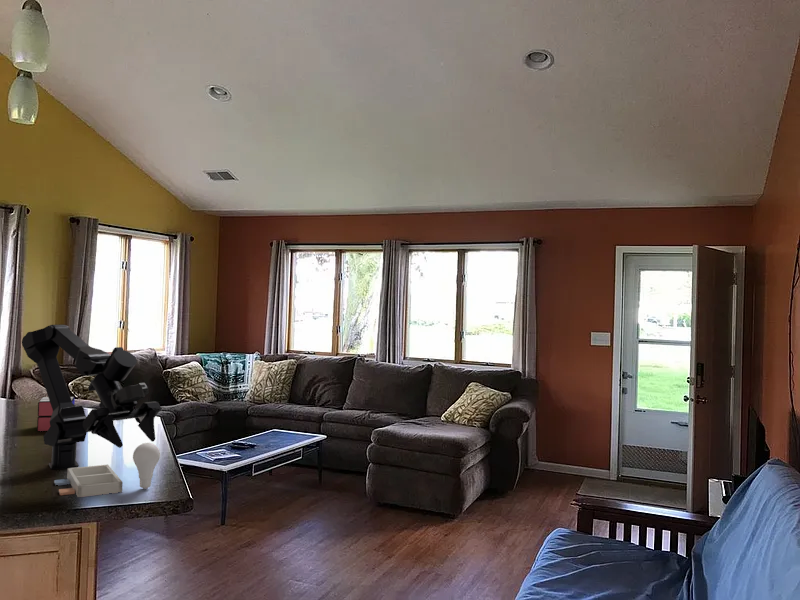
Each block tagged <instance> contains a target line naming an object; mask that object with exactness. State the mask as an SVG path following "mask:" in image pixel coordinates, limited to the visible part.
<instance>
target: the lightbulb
mask: <svg viewBox="0 0 800 600" xmlns="http://www.w3.org/2000/svg"><path fill="white" fill-rule="evenodd" d="M160 458H161V450H160V449H159V447H158V446H157V445H156V444H154V443H152V442H144V443H141V444H139V445H138V446H136V448H135V449H134V451H133V454H132V460H133V462H134V465H135V466H136V467H135V468H136V469H137V473H138V479H139V487H140V488H142V489H143V490H147V489H148V488H150V487H151V486H152V478H153V476H154V471H155V469H156V466H157V464H158V463H159V461H160Z"/></svg>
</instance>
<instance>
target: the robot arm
mask: <svg viewBox="0 0 800 600" xmlns="http://www.w3.org/2000/svg"><path fill="white" fill-rule="evenodd" d="M21 345H22V348H23V350H24V351H25V354H26V356H27V358H29V359H30V360H31V361H33V362H34V363H35V364H36V365H37V369H38V370H39V374H40V376H41V380H42V382H43V386H44V388H45V391H46V394H47V397H48V398H49V401H50V403H51V406H52V410H53V413H52V416H51V419H50V426H51V427H50V428H49V429H48V431H47V432H45V433H44V435H43V438H42V439H43V442H44V445H47V446H51V447H52V448H51V449H52V451H51V462H48V466H49V468H50V470H61V469H67V468H76V467H80V465H79V463H78V462H77V461H76V460H77V443H83V442H85V441H86V437H87V434H88V433H91V434H92V435H96V436H99V437H100V438H103V439H104V440H107V441H108V442H110V443H111V444H113V445H114V446H116V447H117V448H119V449H120V448H122V447H123V442H122V438H121V437H120V435H119V433H118V431H117V429H116V427H115V424H114V422H115V421H124V420H132V419H134V421H136V423H137V426H138V427H139V429H140V430H141V431H142V432H143V434H144V435H145V436H146V437H147V439H149V440H150V442H151V443H152V442H154V441H155V440H156V434H155V433H156V431H155V418H156V417H157V415H158V414H159V412H160V411H161V410H162V407H161V405H160V403H159V401H154V400H153V401H146V402H143V403H142V404H141V405H140V406H139V408H136V409H134V407H136V406H137V405H138V402H137V401H140V400H141V399H144V398H145V397H146V396H147V395H148V394H149V392H150V391H149V386H148V385H147V384H146V383H145V382H139V383H138V384H134V385H133V384H132V385H128V386H124V387H123V386H122V385H121V382H123V381H124V380H125V379H126V378H127V377H128V376H129V374H130V373H131V372H132V370H133V369H134V368H135V366H136V365H137V358H136V356H135V355H133V353H131V352H130V351H128V350H125V349H124V348H123V347H122V346H120V347H119V346H118V347H117V346H115V347H113V349H112V352H111V354H109V353H108V352H107V351H105V350H102V349H99V348H96V347H92V346H90V345H89V344H87V343H86V341H84V340H83V339H82V338H81V337H79V336H78V335H77V334H76V333H75V332H73V331H72V330H71V329H70V326H68V325H66V324H50V325H46V327H44V328H40V329H37V330H33V331H28V332H26V334H24V336H23V337H22V340H21ZM60 349H62V350H63V351H64V352H65V353H66V354H67V355H69V356H70V357H71V358H72V359H73V360H74V361H75V362H74V367H75V368H76V369H77V371H78V372H79V373H80V375H82V376H83V377H89V376H90V377H92V376H94V378H93V379H91V380H90V384H89V385H88V388H87V389H88V391H89V392H93V391H95V392H96V394H97V396H98V398H99V400H100V402H99V404H98V406H99V408H92V409H91V410H90V411H89V413H88V414H87V415H86V411H85V408H84V407H83V406H82V405H75V403H74V404H73V403H72V400H71V397H72V396H71V395H70V392H69V389H68V386H67V383H66V381H65V380H66V379H65V378H64V374H63V371H62V369H61V366H60V363H59V360H58V357H57V356H58V354H59V351H60Z"/></svg>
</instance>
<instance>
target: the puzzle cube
mask: <svg viewBox="0 0 800 600" xmlns="http://www.w3.org/2000/svg"><path fill="white" fill-rule="evenodd" d="M70 397H71V400H72V403H73V404H74V405H75V403H76V402H75V396H70ZM52 413H53V410H52V406H51V403H50V401H49V398H48V396H45V397H44V396H43V397H42V398H40V400H39V401H38V403H37V420H36V421H37V426H36V431H37V432H38V431H40V432H41V431H42V432H43V431H48V429H49V428H50V427H51V426H50V419H51V416H52ZM40 432H39V433H40ZM42 432H41V433H42ZM43 433H44V432H43Z"/></svg>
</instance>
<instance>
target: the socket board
mask: <svg viewBox="0 0 800 600" xmlns="http://www.w3.org/2000/svg"><path fill="white" fill-rule="evenodd" d="M66 469H67V470H66V473H67V475H66V478H62V479H55V480H53V484H54V485H55V486H56V485H58V486H66V485H67V484H68V485H71V487H68V488H59V489H58V493H59V496H68V495H76V496H77V498H84V497H93V496H102V494H103V495H110V494H109V493H112V494H119V493H118V492H120V493H123V480H121V478H120V476H118V475H117V474H116V472H115V471H114V469H112V467H111V466H110V465H109V464H101V465H89V466H88V465H87V466H79V467H74V468H66Z"/></svg>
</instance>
